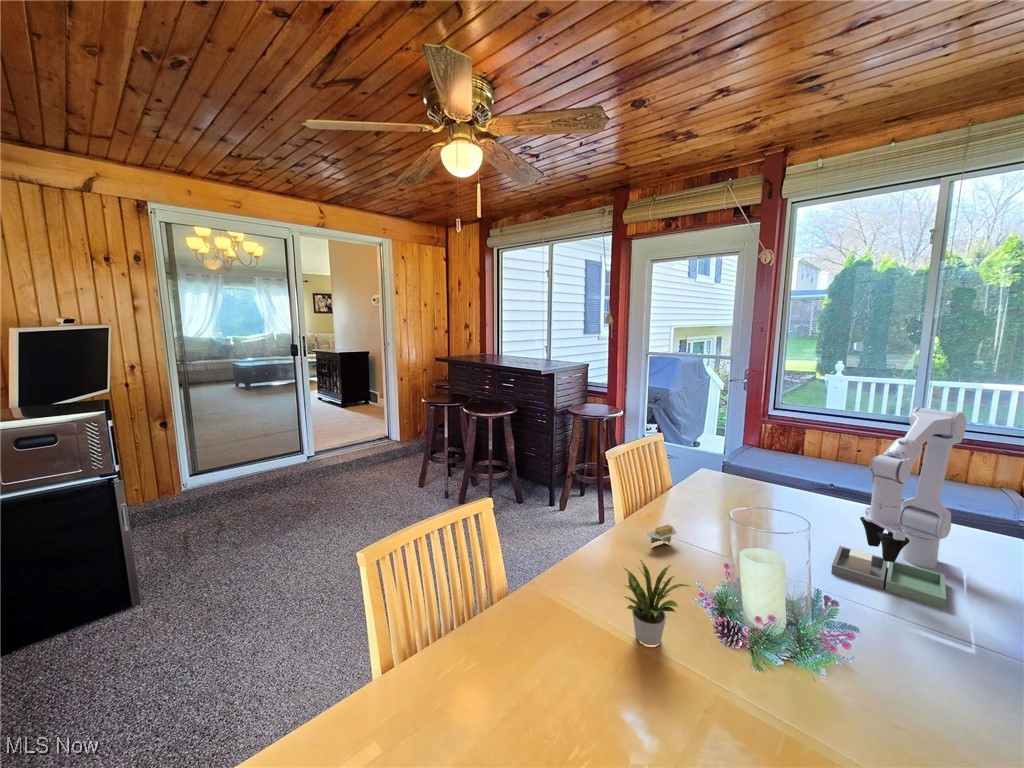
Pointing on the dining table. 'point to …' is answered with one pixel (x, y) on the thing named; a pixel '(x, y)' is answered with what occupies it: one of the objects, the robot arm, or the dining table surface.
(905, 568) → the tray
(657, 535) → the platform
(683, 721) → the dining table surface
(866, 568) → the stone block
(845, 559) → the tray
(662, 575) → the house plant
